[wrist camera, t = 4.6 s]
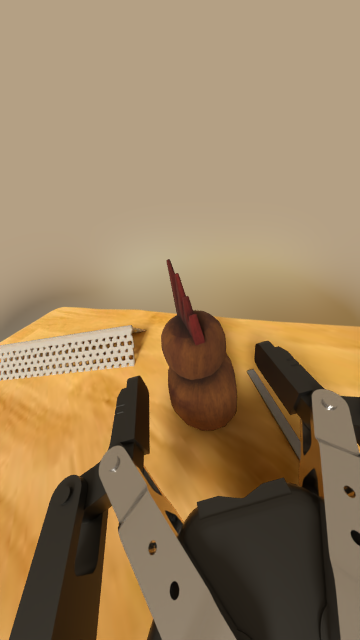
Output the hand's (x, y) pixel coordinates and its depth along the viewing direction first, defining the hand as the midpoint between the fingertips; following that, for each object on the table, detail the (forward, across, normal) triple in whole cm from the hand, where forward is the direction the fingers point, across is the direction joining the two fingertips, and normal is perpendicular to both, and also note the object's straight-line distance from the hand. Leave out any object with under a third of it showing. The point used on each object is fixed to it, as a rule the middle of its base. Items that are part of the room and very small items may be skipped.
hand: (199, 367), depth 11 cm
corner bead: (+17, +22, +9) cm, 29 cm away
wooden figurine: (+2, 0, +9) cm, 9 cm away
